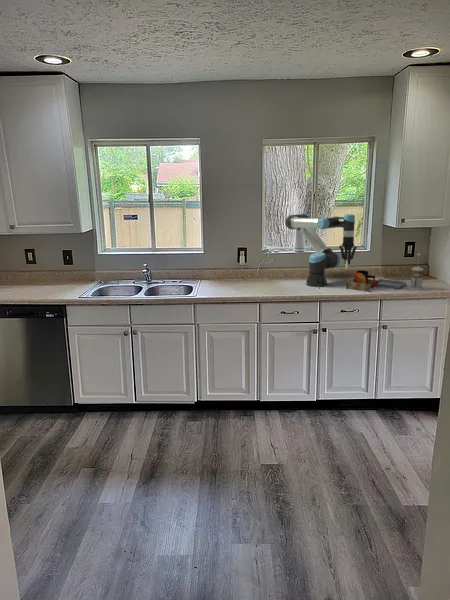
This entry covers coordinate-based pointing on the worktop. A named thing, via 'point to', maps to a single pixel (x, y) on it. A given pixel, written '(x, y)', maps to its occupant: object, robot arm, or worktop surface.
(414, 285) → the french press
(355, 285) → the wooden frame
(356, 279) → the mug
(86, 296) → the worktop surface
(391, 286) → the tray
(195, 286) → the worktop surface
